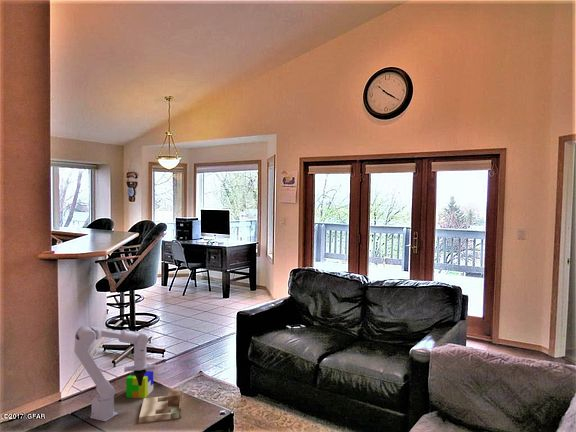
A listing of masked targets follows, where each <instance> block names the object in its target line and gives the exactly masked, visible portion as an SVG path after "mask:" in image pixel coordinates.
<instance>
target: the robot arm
mask: <svg viewBox="0 0 576 432" xmlns="http://www.w3.org/2000/svg"><path fill="white" fill-rule="evenodd" d="M100 338H110V339H117V340H118V341H119V343H124V344H130V345H131V344H132V345H133V346H134V347H133V348H134V349H133V365H129V366H128V365H127V366H124V367H123V370H124V371H123V372H124V373H127V372H134V375H135V376H136V378H137V381H138V385H139V386H142V380H143V377H144V375H145V372H146V371H151V370H152V371H156V369H157V364H148V363H147V344H148V343H149V338H148V336H147V335H146V334H145V333H143V332H141V331H137V330H136V331H133V330H130V329H129V328H126V329H122V330H120V331H119V330H118V331H117V330H114V329H109V328H106V327H105V328H104V327H101V326H94V325H91V326H89V325H82V326H80V327H79V328H78V329H77V331H76V333H75V334H74V350H73V351H74V354H75V355H76V357H77V358H78V360H79V361H80V363H81V364H82V366H83V367H84V370H85V371H86V372H87V374H88V375H89V377H90V378H91V380H92V382H93V384H94V385H95V390H96V392H97V393H98V394H97V395H96V396H95V397H94V398H93V399H92V401H91V415H90V416H89V418H90V419H94V420H97V421H102V422H107V421H109V420H110V419H112V418H114V417H115V416H117V415H118V414H119V412H117V411H115V393H116V388H115V387H114V386H113V385H112V383H111V382H110V381H109V380H108V379H106V378H105V376H104V374H103V373H102V371H101V369H100V368H99V367H98V365H97V364H96V362H95V361H94V359H93V358H92V356H91V353H89V349H90V347H91V346H92V344H93V343H94V341H95V340H97V341H98V340H100Z"/></svg>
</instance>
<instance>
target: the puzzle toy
mask: <svg viewBox="0 0 576 432" xmlns="http://www.w3.org/2000/svg"><path fill="white" fill-rule="evenodd" d="M125 380H126V383H125V385H126V390H125V391H126V392H125V395H126V398H131V399H132V398H133V399H139V398H140V399H144V398H148V396H149V394H151V393H152V392H153V391H154V370H152V371H151V370H146V372H145V375H144V377H143V380H142V386H139V385H138V381H137V378H136V376H135V375H134V371H132V373H130V374H129V375H128V376H127V377H126V378H125Z"/></svg>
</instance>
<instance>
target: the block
mask: <svg viewBox="0 0 576 432" xmlns="http://www.w3.org/2000/svg"><path fill="white" fill-rule="evenodd" d="M167 393H168V394H167V396H168V407H172V406H179V395H180V390H177V391H168V392H167Z"/></svg>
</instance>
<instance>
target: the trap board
mask: <svg viewBox="0 0 576 432" xmlns="http://www.w3.org/2000/svg"><path fill="white" fill-rule="evenodd" d="M182 411H183V390H179V406H172V407H168V395H165V396H154V397H146V398H143V401H142V405H141V408H140V413H139V416H138V423H147V422H149V423H150V422H156V421H158V422H159V421H165V420H173V419H182V414H183V413H182Z"/></svg>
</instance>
